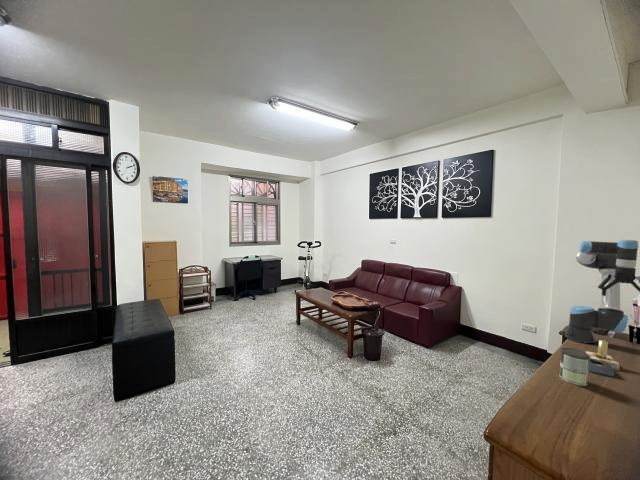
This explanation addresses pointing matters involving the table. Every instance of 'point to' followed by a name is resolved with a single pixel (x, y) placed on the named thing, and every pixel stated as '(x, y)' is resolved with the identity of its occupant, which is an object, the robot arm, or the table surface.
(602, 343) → the peg
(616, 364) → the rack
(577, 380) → the coffee can
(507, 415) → the table surface
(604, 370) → the socket
